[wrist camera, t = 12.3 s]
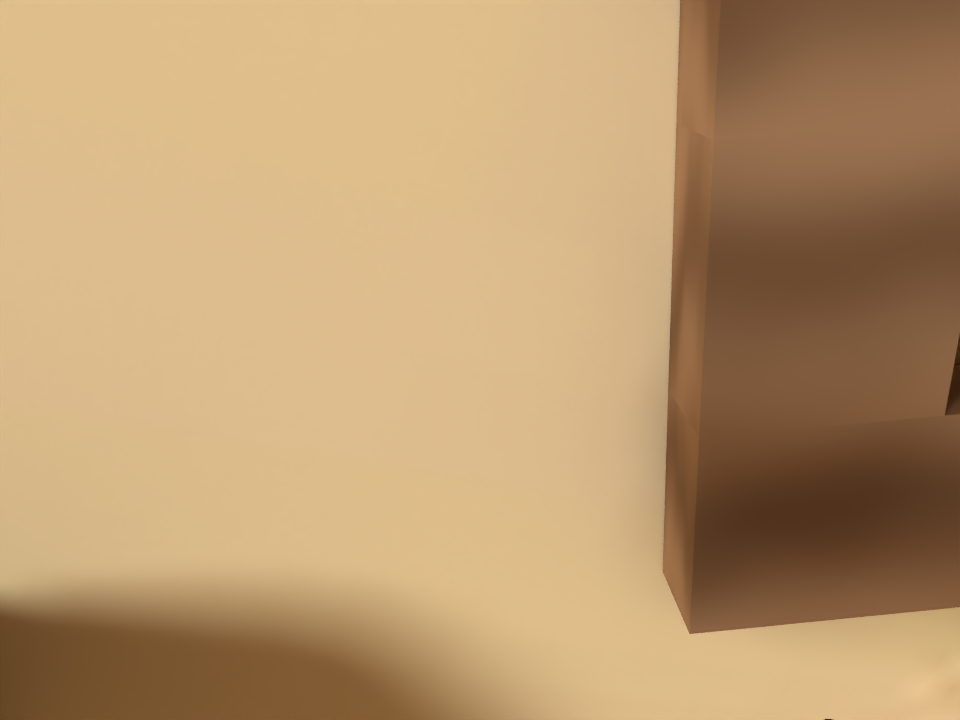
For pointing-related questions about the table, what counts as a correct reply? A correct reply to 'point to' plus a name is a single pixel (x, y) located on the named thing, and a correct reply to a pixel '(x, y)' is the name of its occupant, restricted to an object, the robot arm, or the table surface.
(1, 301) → the table surface
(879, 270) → the jig plate
